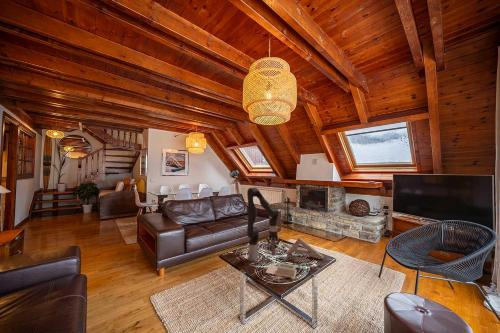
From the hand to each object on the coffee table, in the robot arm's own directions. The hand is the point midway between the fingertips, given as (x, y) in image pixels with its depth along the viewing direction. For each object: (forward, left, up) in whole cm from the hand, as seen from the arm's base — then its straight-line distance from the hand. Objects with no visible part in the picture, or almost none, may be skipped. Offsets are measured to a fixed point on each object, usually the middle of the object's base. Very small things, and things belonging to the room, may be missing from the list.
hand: (273, 248), depth 182 cm
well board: (+7, 0, -21) cm, 23 cm away
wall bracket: (+25, +40, -22) cm, 51 cm away
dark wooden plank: (0, 0, -5) cm, 5 cm away
